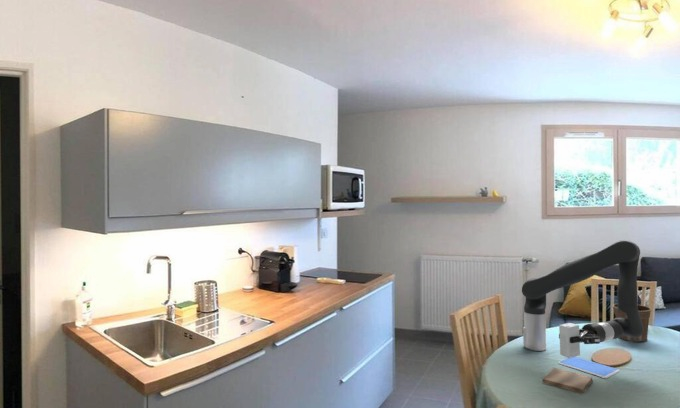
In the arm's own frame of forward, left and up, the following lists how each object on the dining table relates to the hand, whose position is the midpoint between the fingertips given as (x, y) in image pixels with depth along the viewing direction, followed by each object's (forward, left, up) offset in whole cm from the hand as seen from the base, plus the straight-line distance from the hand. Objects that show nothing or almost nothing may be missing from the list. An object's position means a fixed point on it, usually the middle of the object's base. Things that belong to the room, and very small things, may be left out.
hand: (565, 338), depth 159 cm
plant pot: (+10, +76, -18) cm, 79 cm away
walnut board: (0, +2, -18) cm, 18 cm away
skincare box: (+1, +2, -7) cm, 8 cm away
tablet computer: (+2, +22, -18) cm, 29 cm away
